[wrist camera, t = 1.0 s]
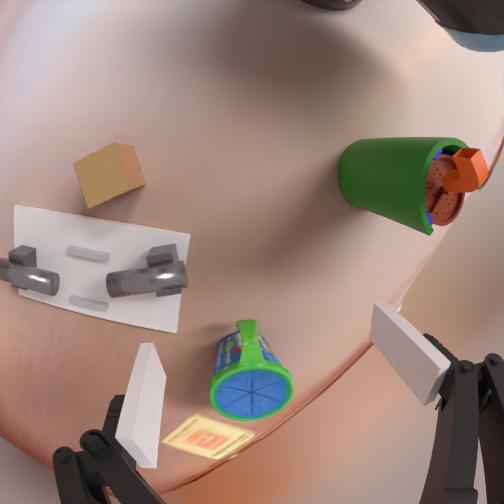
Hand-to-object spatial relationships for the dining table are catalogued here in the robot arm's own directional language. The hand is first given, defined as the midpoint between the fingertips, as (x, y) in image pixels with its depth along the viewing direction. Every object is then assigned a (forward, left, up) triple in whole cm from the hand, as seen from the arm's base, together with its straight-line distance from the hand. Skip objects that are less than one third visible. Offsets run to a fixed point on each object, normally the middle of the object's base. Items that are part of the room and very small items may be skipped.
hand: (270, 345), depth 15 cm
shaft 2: (+5, -10, -21) cm, 23 cm away
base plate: (+7, -19, -21) cm, 29 cm away
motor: (-13, +15, -21) cm, 29 cm away
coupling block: (-6, -16, -21) cm, 27 cm away
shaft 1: (+8, -28, -21) cm, 35 cm away
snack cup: (+16, +4, -21) cm, 27 cm away
